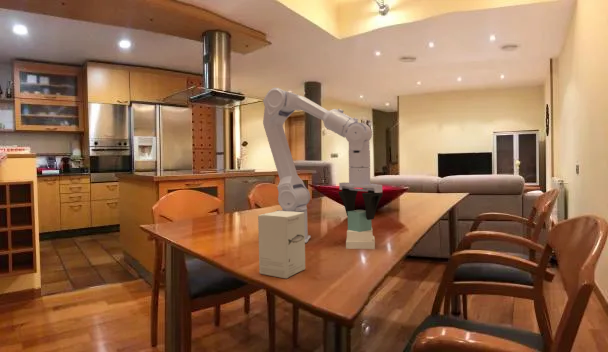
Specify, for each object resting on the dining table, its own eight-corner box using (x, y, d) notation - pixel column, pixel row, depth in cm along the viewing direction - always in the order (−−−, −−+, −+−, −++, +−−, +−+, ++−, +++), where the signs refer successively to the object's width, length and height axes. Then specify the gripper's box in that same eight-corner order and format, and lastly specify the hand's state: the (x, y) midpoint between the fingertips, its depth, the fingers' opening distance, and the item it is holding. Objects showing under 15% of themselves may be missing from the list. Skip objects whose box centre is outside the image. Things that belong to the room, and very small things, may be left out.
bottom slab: (346, 250, 99) (345, 241, 99) (347, 244, 107) (347, 235, 106) (374, 251, 98) (374, 241, 98) (374, 244, 105) (374, 235, 105)
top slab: (347, 241, 99) (346, 231, 99) (349, 236, 106) (348, 227, 106) (371, 241, 98) (371, 232, 98) (372, 236, 104) (372, 227, 104)
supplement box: (287, 279, 75) (285, 216, 74) (258, 274, 79) (256, 214, 78) (306, 269, 81) (305, 211, 81) (278, 265, 85) (277, 209, 85)
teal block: (347, 229, 102) (347, 211, 102) (359, 227, 105) (359, 209, 105) (359, 232, 99) (359, 213, 98) (371, 229, 101) (371, 211, 101)
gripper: (330, 167, 105) (331, 216, 105) (368, 168, 93) (369, 222, 94) (349, 166, 109) (350, 213, 109) (387, 167, 97) (388, 219, 98)
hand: (360, 217), depth 102 cm, fingers open, 7 cm apart
